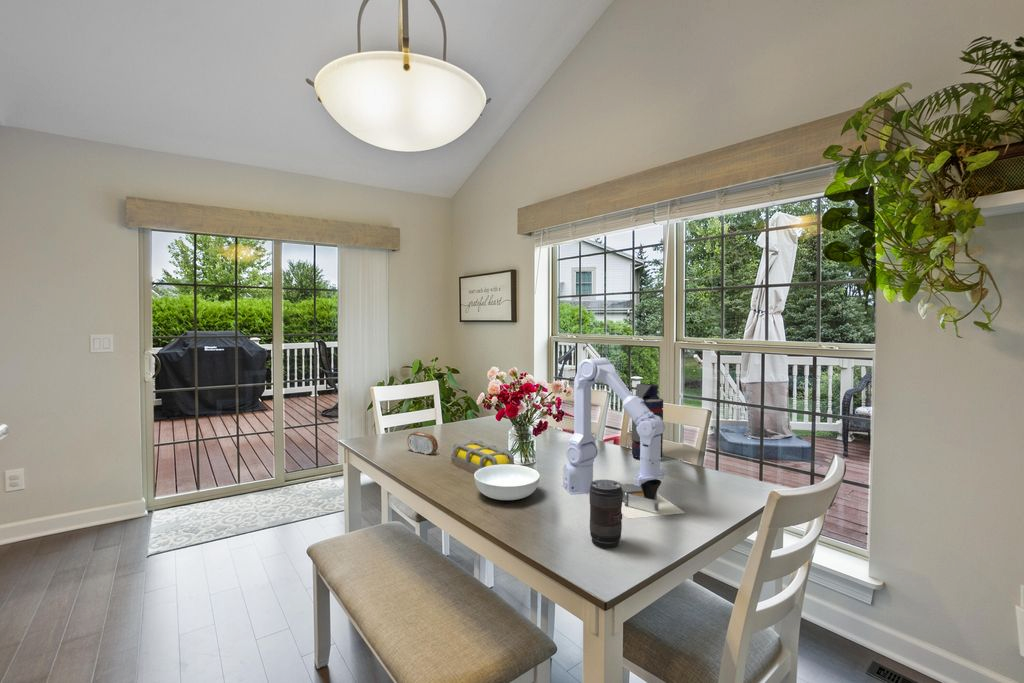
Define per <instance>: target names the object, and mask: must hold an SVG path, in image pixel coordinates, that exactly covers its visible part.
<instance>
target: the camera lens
mask: <svg viewBox="0 0 1024 683" xmlns="http://www.w3.org/2000/svg"><path fill="white" fill-rule="evenodd" d="M621 485H622V484H621V483H620V482H619V481H617V480H612V479H596V480H593V482H591V486H590V493H589V508H590V509H589V531H590V532H589V533H590V534H589V535H590V538H591V542H592V545H594V546H595V547H597V548H601V549H607V550H608V549H609V550H610V549H614V548H617V547H618V546H619V544H620V540H621V538H622V532H623V525H622V524H623V523H622V522H623V514H622V513H621V507H622V488H621Z"/></svg>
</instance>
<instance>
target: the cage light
mask: <svg viewBox="0 0 1024 683" xmlns="http://www.w3.org/2000/svg"><path fill="white" fill-rule="evenodd" d="M450 459H451V460H450V461H451V465H452V464H453V465H454V466H456V467H458V468H460V469H459V470H461V469H463V470H465V471H467V472H469V473H468V474H470V473H472V474H475V472H476V471H477V470H479V469H481V468H484V467H487V466H492V465H501V464H512V465H516V464H515V456H514V455H513V453H512V451H511V450H508V449H507V450H506V449H505V450H504V449H501V448H498V447H497V446H496V445H494V444H492V445H489V444H486V443H484V442H483V441H482V440H475V439H471V440H470V441H469V442H466V443H459V442H456V443H454V444H453V449H452V453H451V457H450ZM453 465H452V466H453ZM454 466H453V467H454ZM456 467H455V468H456ZM458 468H457V469H458ZM463 470H462V471H463ZM465 471H464V472H465ZM467 472H466V473H467ZM472 474H471V475H472Z"/></svg>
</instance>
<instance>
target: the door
mask: <svg viewBox="0 0 1024 683" xmlns="http://www.w3.org/2000/svg"><path fill="white" fill-rule="evenodd" d="M625 506H630V507H634V508H638V509H642V510H646V511H650V512H653V513H657V514H658V509H659V501H658V500H654V499H650V498H646V497H642V496H638V495H633V494H628V493H625Z"/></svg>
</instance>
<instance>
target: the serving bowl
mask: <svg viewBox="0 0 1024 683" xmlns="http://www.w3.org/2000/svg"><path fill="white" fill-rule="evenodd" d="M473 477H474V483H475V485H476V487H477V489H478V490H479V492H480V493H481V494H483V495H484V496H486V497H488V498H490V499H494V500H499V501H515V500H520V499H524V498H527V497H529V496H530V495H532V494H533V493H534V492H535V491H536V489H537V488H538V486H539V484H540V477H541V476H540V473H539V472H538V471H537V470H536V469H533V468H531V467H530V466H526V465H525V466H524V465H521V464H515V465H512V464H501V465H492V466H487V467H484V468H481V469H479V470H477V471H476V472H475V474H474V475H473Z"/></svg>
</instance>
